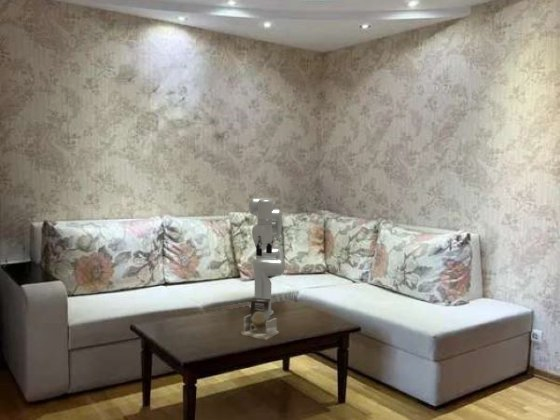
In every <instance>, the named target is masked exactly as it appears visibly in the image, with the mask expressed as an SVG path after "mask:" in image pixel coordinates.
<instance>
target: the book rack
mask: <svg viewBox="0 0 560 420" xmlns="http://www.w3.org/2000/svg"><path fill="white" fill-rule="evenodd" d="M277 321H278V318H277V317H273V318H270V320H269V321H267V322H266V334H265V333H253V332H250V322H251V313H249V314H248V315H245V316H243V328H242V329H243V330H242V331H240V335H242V336H247V337H251V338H256V339H260V340H264V341H267V340H269V339H271V338H273V337H274V336H277V335H278V334H279V333H280V331H279V330H277V329H278V328H277V325H278V323H277Z"/></svg>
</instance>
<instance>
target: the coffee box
mask: <svg viewBox="0 0 560 420" xmlns="http://www.w3.org/2000/svg"><path fill="white" fill-rule="evenodd" d="M250 304H251V308H250V314H251V322H250V332H253V333H265V334H266V322H267V321H269V320H271V315H270V299H264V298H254V297H253V298H252V299H251V301H250Z"/></svg>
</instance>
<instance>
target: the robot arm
mask: <svg viewBox="0 0 560 420" xmlns="http://www.w3.org/2000/svg"><path fill="white" fill-rule="evenodd" d="M248 209H249V213H250V215H253V216H255V217H256V219H257V224H254V225H253V227H252V228H251V234H252V235H251V236H252V240H253V243H254V246H255V250H256V251H255V257H256V259H255V260H254V261H253V273H254V274H253V275H254V297H253V298H264V299H270V316H272V315H274V310H273V309H272V280H271V279H270V277H268V276H282V275H283V274H284V272H285V267H286V266H285V255H284V254H285V253H284V251H283V248H282V247H279V246H273V243H274V239H277V238H280V237H281V235H282V221H283V220H282V218H283V217H282V216H283V215H282V211H281V209H279V208H278V207H276V201H275V200H274V199H273V198H271V197H252V198H250V199H249V202H248ZM248 307H249V308H250V309H251V303H249V306H248Z"/></svg>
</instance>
